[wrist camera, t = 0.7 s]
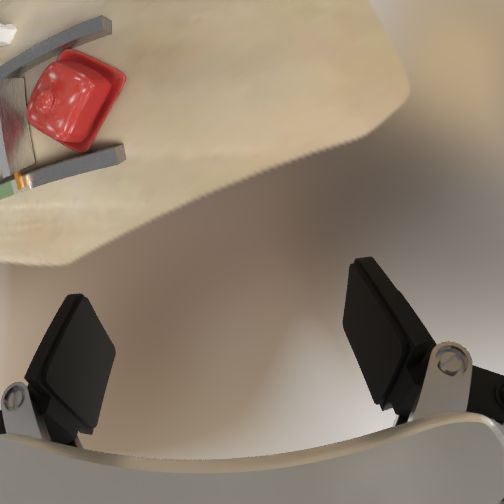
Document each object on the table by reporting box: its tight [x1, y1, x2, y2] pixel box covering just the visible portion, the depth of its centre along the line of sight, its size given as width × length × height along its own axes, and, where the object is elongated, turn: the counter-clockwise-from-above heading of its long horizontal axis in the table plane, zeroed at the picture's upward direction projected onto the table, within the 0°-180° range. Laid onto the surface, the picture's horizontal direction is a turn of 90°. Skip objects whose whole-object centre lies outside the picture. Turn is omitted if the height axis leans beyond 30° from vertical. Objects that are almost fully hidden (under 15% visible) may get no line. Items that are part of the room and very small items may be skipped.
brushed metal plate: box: [0, 78, 35, 190], centre depth 24 cm, size 16×2×6 cm, turn 4°
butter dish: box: [26, 49, 126, 153], centre depth 23 cm, size 12×12×8 cm
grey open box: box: [0, 15, 126, 199], centre depth 24 cm, size 19×28×6 cm, turn 94°
